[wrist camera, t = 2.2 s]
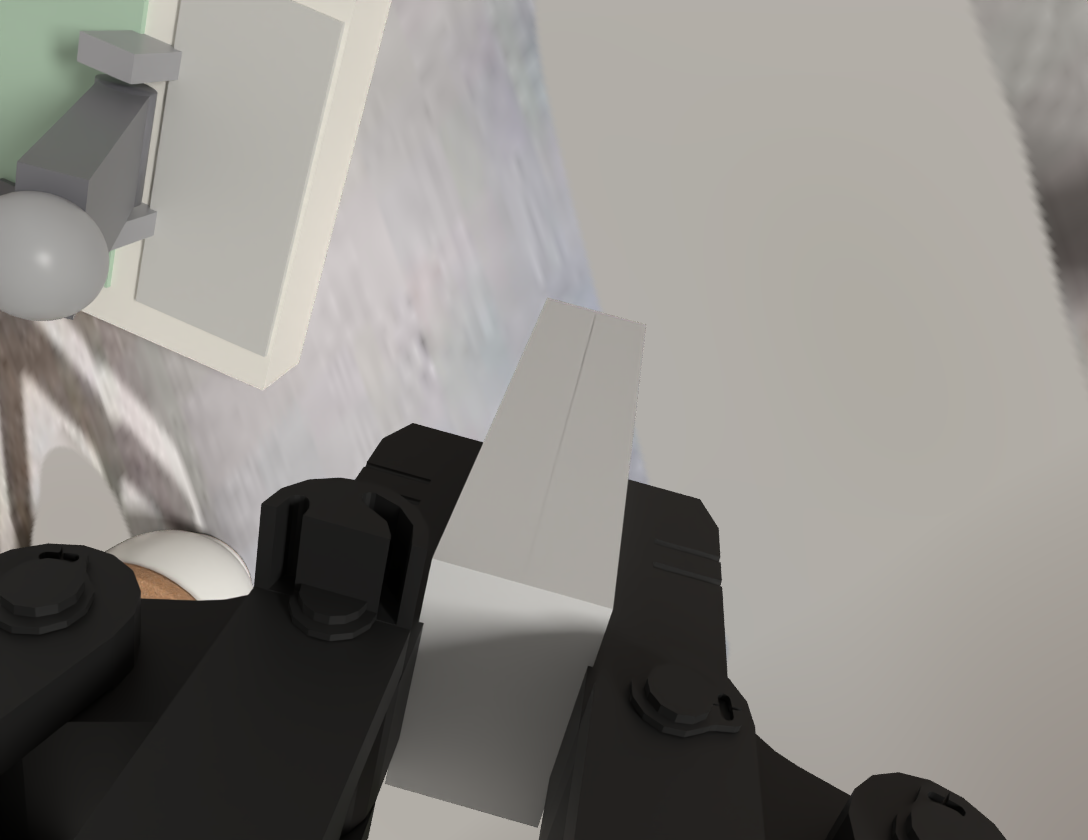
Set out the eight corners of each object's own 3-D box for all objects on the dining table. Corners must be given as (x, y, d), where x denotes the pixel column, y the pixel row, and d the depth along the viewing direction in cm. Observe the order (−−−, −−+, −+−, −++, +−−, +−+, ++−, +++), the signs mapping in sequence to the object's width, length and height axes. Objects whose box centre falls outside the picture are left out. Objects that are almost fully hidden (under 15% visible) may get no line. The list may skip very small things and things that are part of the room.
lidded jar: (296, 651, 56) (219, 761, 48) (149, 632, 59) (50, 734, 50) (272, 508, 52) (183, 600, 44) (114, 492, 54) (-1, 578, 46)
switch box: (397, -22, 38) (323, -32, 32) (298, 363, 48) (225, 419, 41) (71, -161, 39) (-71, -199, 32) (35, 247, 48) (-82, 284, 41)
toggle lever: (180, 93, 38) (103, 222, 25) (164, 199, 41) (85, 369, 27) (81, 63, 37) (-57, 182, 24) (69, 175, 39) (-63, 340, 26)
